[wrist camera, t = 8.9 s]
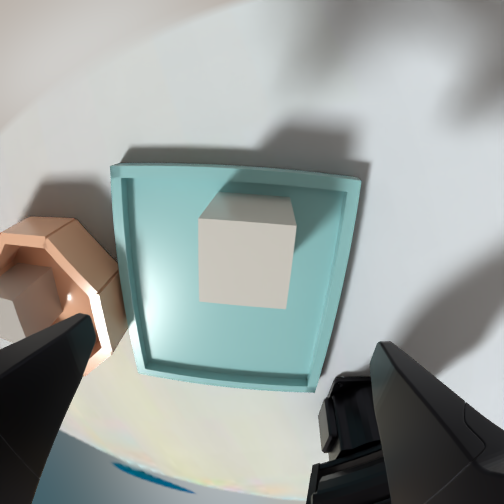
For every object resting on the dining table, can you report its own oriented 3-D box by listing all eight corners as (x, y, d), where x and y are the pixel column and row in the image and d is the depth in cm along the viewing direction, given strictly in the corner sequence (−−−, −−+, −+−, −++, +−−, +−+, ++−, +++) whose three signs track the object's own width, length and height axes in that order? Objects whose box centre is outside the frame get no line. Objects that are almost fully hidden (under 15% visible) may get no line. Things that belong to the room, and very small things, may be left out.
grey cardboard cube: (290, 197, 17) (296, 225, 13) (283, 262, 19) (285, 309, 14) (218, 191, 17) (198, 218, 13) (216, 256, 19) (199, 301, 14)
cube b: (18, 262, 20) (-20, 291, 15) (51, 267, 20) (12, 301, 15) (29, 304, 22) (-3, 336, 17) (62, 311, 21) (30, 348, 17)
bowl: (116, 220, 19) (90, 240, 15) (137, 356, 23) (122, 386, 20) (3, 215, 19) (-25, 230, 16) (34, 331, 24) (15, 352, 20)
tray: (355, 176, 17) (361, 180, 16) (313, 381, 23) (314, 392, 22) (119, 163, 17) (110, 166, 16) (143, 363, 24) (138, 373, 22)
